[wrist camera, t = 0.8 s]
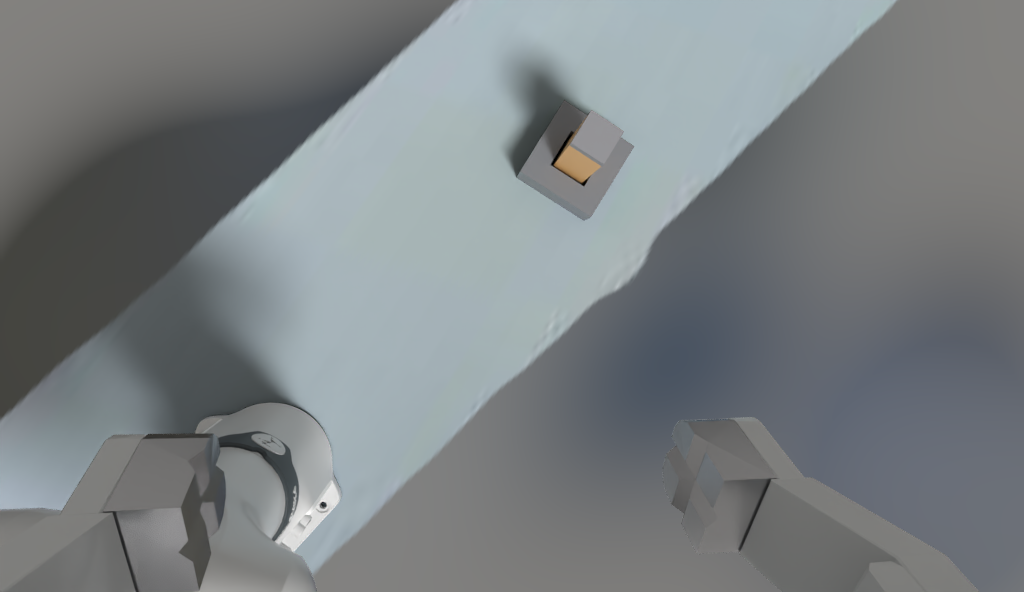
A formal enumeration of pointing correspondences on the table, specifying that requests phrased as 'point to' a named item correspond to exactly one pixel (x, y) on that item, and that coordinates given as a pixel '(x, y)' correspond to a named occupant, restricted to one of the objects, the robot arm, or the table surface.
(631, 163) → the table surface
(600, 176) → the grey square block
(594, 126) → the plug
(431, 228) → the table surface
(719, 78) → the table surface
